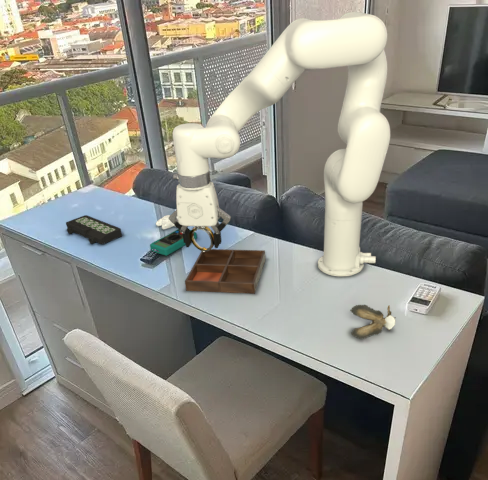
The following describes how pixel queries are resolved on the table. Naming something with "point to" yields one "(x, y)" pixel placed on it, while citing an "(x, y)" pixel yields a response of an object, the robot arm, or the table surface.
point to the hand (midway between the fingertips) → (203, 245)
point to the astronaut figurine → (165, 222)
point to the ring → (206, 232)
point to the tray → (226, 271)
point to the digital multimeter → (170, 243)
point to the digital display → (93, 229)
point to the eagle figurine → (376, 319)
